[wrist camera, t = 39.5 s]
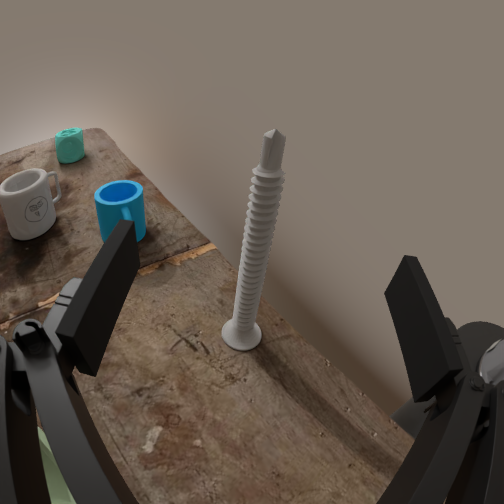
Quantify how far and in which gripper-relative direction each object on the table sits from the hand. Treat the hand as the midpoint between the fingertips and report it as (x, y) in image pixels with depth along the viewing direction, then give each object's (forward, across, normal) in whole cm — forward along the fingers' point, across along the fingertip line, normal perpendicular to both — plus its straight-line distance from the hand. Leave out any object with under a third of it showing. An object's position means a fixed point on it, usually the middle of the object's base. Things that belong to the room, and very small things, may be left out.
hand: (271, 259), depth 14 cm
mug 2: (+28, -21, -23) cm, 42 cm away
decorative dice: (+60, -52, -23) cm, 83 cm away
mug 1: (+30, -42, -23) cm, 56 cm away
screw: (+12, 0, -23) cm, 26 cm away
